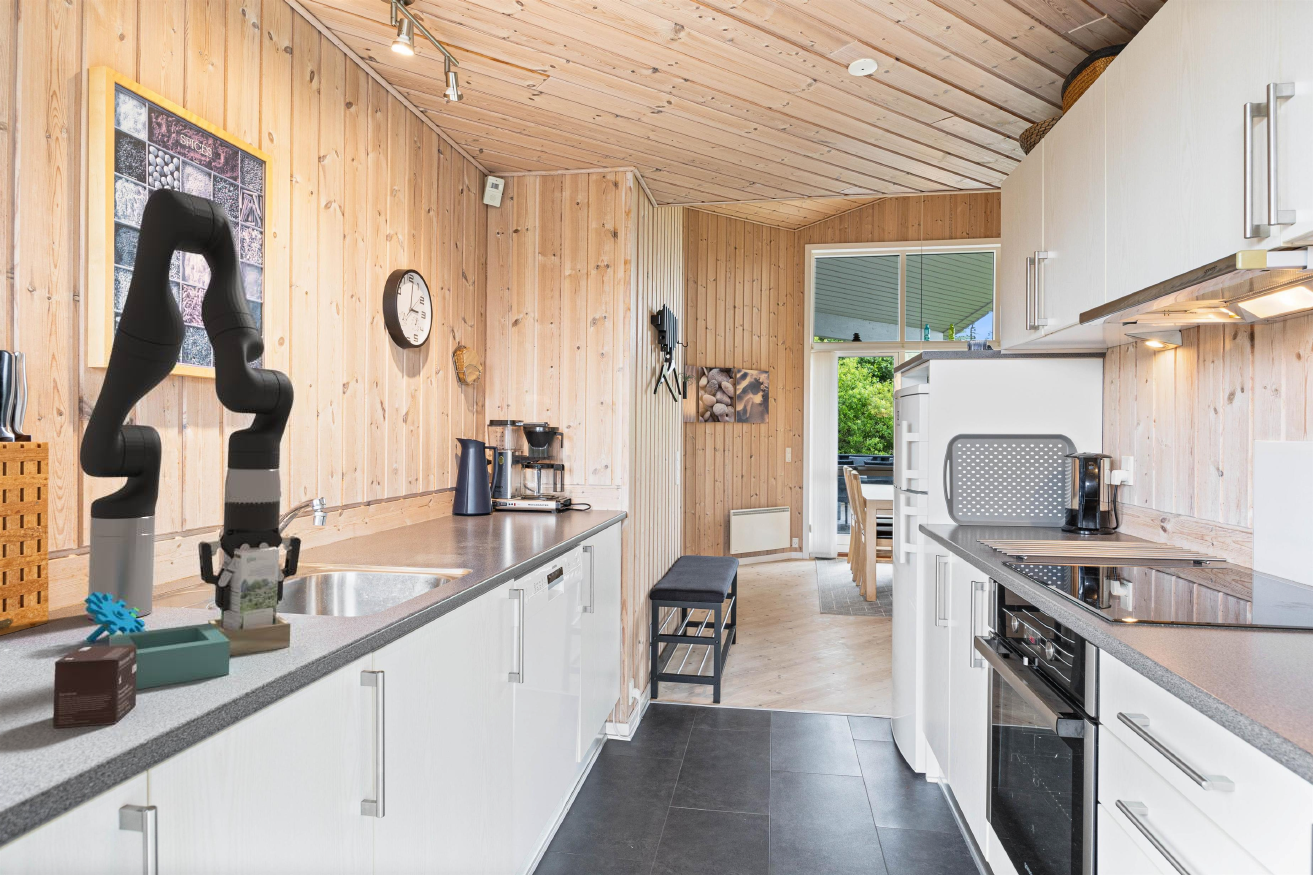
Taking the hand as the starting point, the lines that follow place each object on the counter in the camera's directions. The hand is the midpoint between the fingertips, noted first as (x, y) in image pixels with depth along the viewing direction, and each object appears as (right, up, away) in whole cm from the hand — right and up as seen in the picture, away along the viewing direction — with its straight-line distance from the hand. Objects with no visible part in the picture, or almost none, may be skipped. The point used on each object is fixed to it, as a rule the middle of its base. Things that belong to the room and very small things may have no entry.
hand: (249, 606), depth 115 cm
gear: (-21, -6, +1) cm, 21 cm away
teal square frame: (-3, -6, -14) cm, 15 cm away
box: (-1, -6, -30) cm, 31 cm away
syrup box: (0, -5, 0) cm, 5 cm away
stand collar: (0, -6, 0) cm, 6 cm away
